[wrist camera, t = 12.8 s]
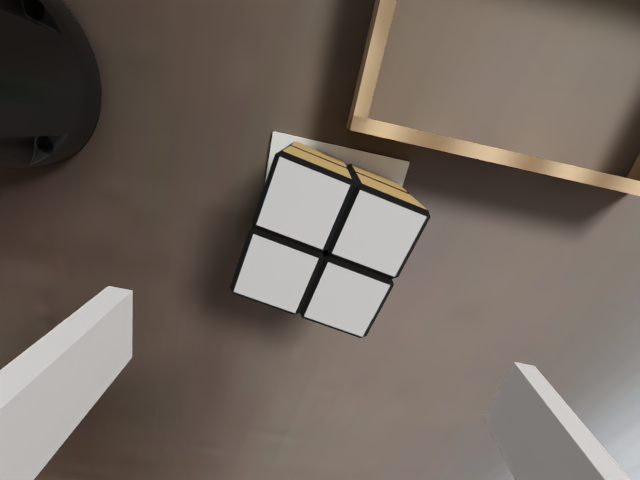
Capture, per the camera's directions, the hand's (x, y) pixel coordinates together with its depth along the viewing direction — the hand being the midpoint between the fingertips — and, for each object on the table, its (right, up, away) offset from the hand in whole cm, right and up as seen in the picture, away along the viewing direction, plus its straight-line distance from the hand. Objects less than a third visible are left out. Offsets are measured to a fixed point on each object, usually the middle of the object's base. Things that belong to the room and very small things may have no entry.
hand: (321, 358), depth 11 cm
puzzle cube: (0, +7, +19) cm, 20 cm away
